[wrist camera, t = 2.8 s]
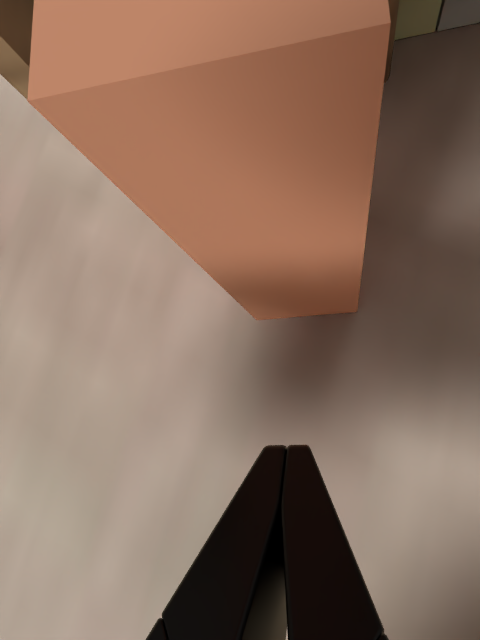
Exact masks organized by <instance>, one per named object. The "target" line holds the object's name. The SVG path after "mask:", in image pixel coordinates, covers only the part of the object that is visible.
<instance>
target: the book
mask: <svg viewBox="0 0 480 640" xmlns="http://www.w3.org/2000/svg"><path fill="white" fill-rule="evenodd" d="M390 25H391V20H390V12H389V4H388V0H34V7H33V23H32V38H31V53H30V68H29V83H28V99H27V101H28V102H29V103H30V104H31V105H32V106H33V107H34V108H35V109H36V110H37V111H38V112H40V113H41V114H42V115H43V116H44V117H45V118H46V119H47V120H48V121H49V122H50V123H51V124H52V125H53V126H54V127H55V128H56V129H57V130H58V131H59V132H60V133H61V134H63V135H64V136H65V137H66V138H67V139H68V140H69V141H70V142H71V143H72V144H73V145H74V146H75V147H76V148H77V149H78V150H79V151H80V152H81V153H82V154H83V155H84V156H86V157H87V158H88V159H89V160H90V161H91V162H92V163H93V164H94V165H95V166H96V167H97V168H98V169H99V170H100V171H101V172H102V173H103V174H104V175H105V176H106V177H107V178H109V179H110V180H111V181H112V182H113V183H114V184H115V185H116V186H117V187H118V188H119V189H120V190H121V191H122V192H123V193H124V194H125V195H126V196H127V197H128V198H129V199H130V200H132V201H133V202H134V203H135V204H136V205H137V206H138V207H139V208H140V209H141V210H142V211H143V212H144V213H145V214H146V215H147V216H148V217H149V218H150V219H151V220H152V221H154V222H155V223H156V224H157V225H158V226H159V227H160V228H161V229H162V230H163V231H164V232H165V233H166V234H167V235H168V236H169V237H170V238H171V239H172V240H173V241H174V242H175V243H177V244H178V245H179V246H180V247H181V248H182V249H183V250H184V251H185V252H186V253H187V254H188V255H189V256H190V257H191V258H192V259H193V260H194V261H195V262H196V263H197V264H198V265H200V266H201V267H202V268H203V269H204V270H205V271H206V272H207V273H208V274H209V275H210V276H211V277H212V278H213V279H214V280H215V281H216V282H217V283H218V284H219V285H220V286H221V287H223V288H224V289H225V290H226V291H227V292H228V293H229V294H230V295H231V296H232V297H233V298H234V299H235V300H236V301H237V302H238V303H239V304H240V305H241V306H242V307H243V308H245V309H246V310H247V311H248V312H249V313H250V314H251V315H252V316H253V317H254V318H255V319H256V320H265V319H277V318H289V317H301V316H314V315H326V314H338V313H350V312H357V309H358V300H359V292H360V283H361V275H362V266H363V257H364V249H365V240H366V231H367V223H368V214H369V206H370V197H371V188H372V180H373V171H374V163H375V154H376V145H377V137H378V128H379V120H380V111H381V102H382V94H383V85H384V76H385V68H386V59H387V51H388V42H389V33H390Z"/></svg>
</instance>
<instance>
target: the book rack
mask: <svg viewBox="0 0 480 640" xmlns="http://www.w3.org/2000/svg"><path fill="white" fill-rule="evenodd" d="M388 4H389V12H390V20H391V25H390V33H389V42H388V51H387V59H386V68H385V76H384V83H385V82H386V81H387V80H388V78H389V75H390V68H391V61H392V53H393V46H394V40H398V39H402V38H407V37H412V36H417V35H422V34H427V33H431V32H435V28H436V24H437V31H441V30H446V29H451V28H456V27H460V26H465V25H470V24H475V23H480V0H388ZM33 7H34V0H0V74H1V75H2V76H3V77H4V78H5V79H6V80H7V81H8V82H9V83H10V84H11V85H12V86H13V87H15V88H16V89H17V90H18V91H19V92H20V93H21V94H22V95H23V96H24V97H25V98H26V99H28V83H29V68H30V53H31V38H32V23H33Z"/></svg>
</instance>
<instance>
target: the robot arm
mask: <svg viewBox="0 0 480 640" xmlns="http://www.w3.org/2000/svg"><path fill="white" fill-rule="evenodd" d="M287 629H288V640H389V639H388V637H387V635H385V634H384V628H383V625H382V623H381V621H380V618H379V616H378V613H377V611H376V608H375V606H374V603H373V601H372V598H371V596H370V594H369V591H368V589H367V586H366V584H365V581H364V579H363V576H362V574H361V571H360V569H359V567H358V564H357V562H356V559H355V557H354V554H353V552H352V549H351V547H350V544H349V542H348V540H347V537H346V535H345V532H344V530H343V527H342V525H341V522H340V520H339V518H338V515H337V513H336V510H335V508H334V505H333V503H332V500H331V498H330V495H329V493H328V491H327V488H326V486H325V483H324V481H323V478H322V476H321V473H320V471H319V468H318V466H317V464H316V461H315V459H314V456H313V454H312V451H311V449H310V447H309V446H308V445H289V446H288V448H287V447H286V446H284V445H269V446H266V447H264V448H263V450H262V451H261V453H260V455H259V456H258V458H257V460H256V461H255V463H254V464H253V466H252V468H251V469H250V471H249V473H248V474H247V476H246V477H245V479H244V481H243V482H242V484H241V486H240V487H239V489H238V491H237V492H236V494H235V495H234V497H233V499H232V500H231V502H230V504H229V505H228V507H227V508H226V510H225V512H224V513H223V515H222V517H221V518H220V520H219V521H218V523H217V525H216V526H215V528H214V530H213V531H212V533H211V534H210V536H209V538H208V539H207V541H206V543H205V544H204V546H203V547H202V549H201V551H200V552H199V554H198V556H197V557H196V559H195V560H194V562H193V564H192V565H191V567H190V569H189V570H188V572H187V573H186V575H185V577H184V578H183V580H182V582H181V583H180V585H179V586H178V588H177V590H176V591H175V593H174V595H173V596H172V598H171V600H170V601H169V603H168V604H167V606H166V608H165V609H164V611H163V613H162V618H159V619H158V620H157V622H156V623H155V625H154V627H153V628H152V630H151V632H150V633H149V635H148V637H147V638H146V640H285V639H286V630H287Z"/></svg>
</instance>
